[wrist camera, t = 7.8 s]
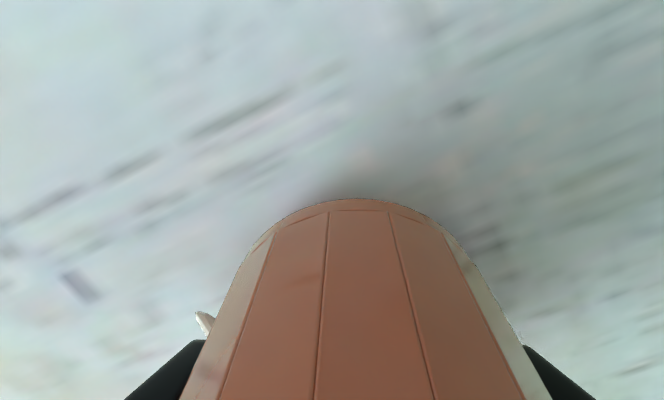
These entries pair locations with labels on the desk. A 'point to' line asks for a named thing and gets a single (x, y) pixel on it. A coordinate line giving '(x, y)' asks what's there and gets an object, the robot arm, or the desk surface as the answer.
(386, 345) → the cup
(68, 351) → the desk surface
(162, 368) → the robot arm
